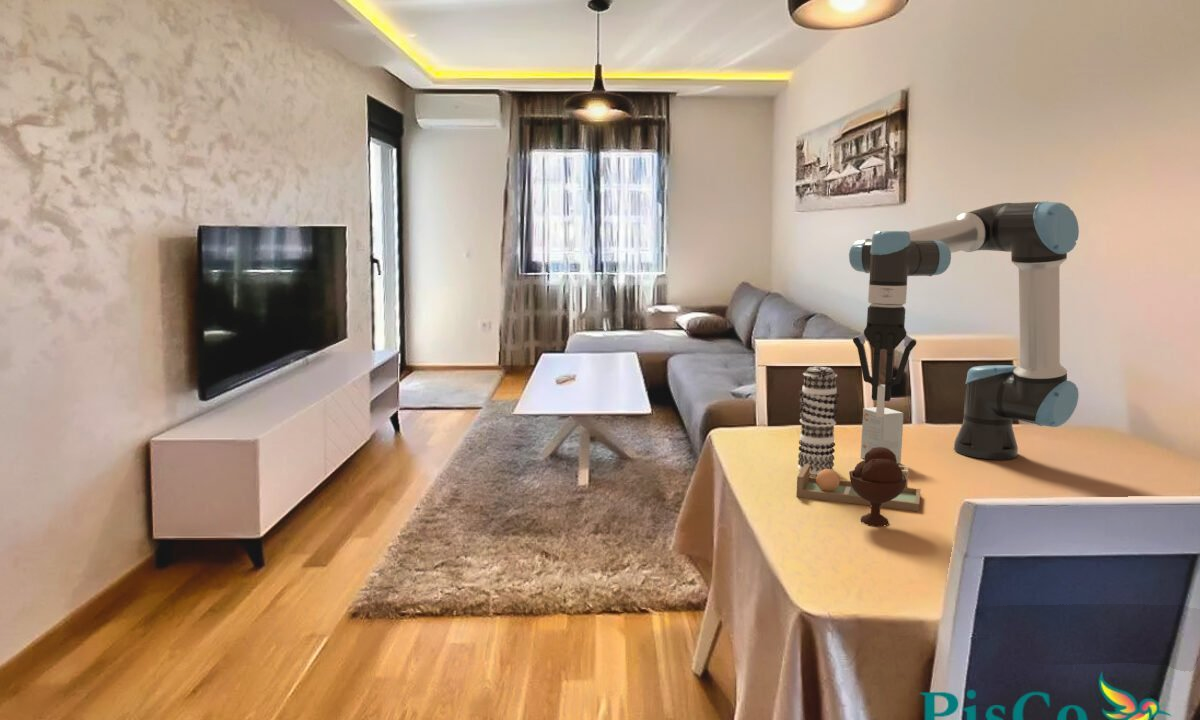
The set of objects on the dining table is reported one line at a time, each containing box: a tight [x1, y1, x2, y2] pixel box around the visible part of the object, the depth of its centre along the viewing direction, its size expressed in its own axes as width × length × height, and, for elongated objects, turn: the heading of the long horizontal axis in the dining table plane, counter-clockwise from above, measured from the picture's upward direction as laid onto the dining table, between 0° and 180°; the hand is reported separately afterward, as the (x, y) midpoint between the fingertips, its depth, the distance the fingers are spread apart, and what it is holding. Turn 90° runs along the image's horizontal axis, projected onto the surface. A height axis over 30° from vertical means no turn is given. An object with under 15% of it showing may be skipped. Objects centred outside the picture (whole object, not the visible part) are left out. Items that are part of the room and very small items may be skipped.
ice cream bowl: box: [848, 447, 907, 527], centre depth 167 cm, size 11×11×15 cm
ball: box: [816, 469, 840, 492], centre depth 185 cm, size 5×5×5 cm
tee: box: [898, 464, 910, 488], centre depth 189 cm, size 4×4×5 cm
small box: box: [860, 406, 904, 464], centre depth 212 cm, size 8×6×13 cm
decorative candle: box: [797, 365, 840, 476], centre depth 202 cm, size 9×9×25 cm
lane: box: [795, 464, 921, 512], centre depth 184 cm, size 25×11×4 cm, turn 68°
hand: (880, 415), depth 180 cm, fingers closed
